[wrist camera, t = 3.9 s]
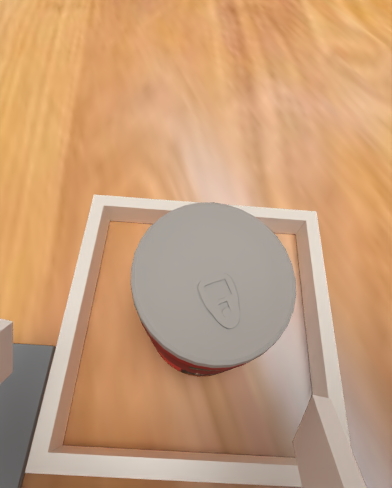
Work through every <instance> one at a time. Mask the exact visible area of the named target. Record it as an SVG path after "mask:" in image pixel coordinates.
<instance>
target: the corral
mask: <svg viewBox="0 0 392 488" xmlns="http://www.w3.org/2000/svg"><path fill="white" fill-rule="evenodd" d="M195 203H198V202H185V201H172V200H159V199H145V198H132V197H119V196H106V195H94V196H93V201H92V205H91V209H90V213H89V217H88V221H87V225H86V229H85V233H84V237H83V241H82V245H81V249H80V253H79V257H78V261H77V265H76V269H75V273H74V277H73V281H72V285H71V289H70V293H69V297H68V301H67V305H66V309H65V313H64V317H63V321H62V325H61V329H60V334H59V338H58V342H57V346H56V350H55V354H54V358H53V362H52V366H51V370H50V374H49V378H48V382H47V386H46V390H45V394H44V398H43V402H42V406H41V410H40V414H39V418H38V422H37V426H36V430H35V434H34V438H33V442H32V446H31V450H30V454H29V458H28V462H27V467H26V471H25V473H36V474H55V475H75V476H94V477H114V478H133V479H153V480H172V481H191V482H211V483H230V484H250V485H269V486H289V487H302V484H301V479H300V474H299V470H298V465H297V460H296V458H291V457H273V456H254V455H236V454H217V453H199V452H180V451H162V450H143V449H125V448H106V447H88V446H69V445H63V442H64V437H65V432H66V427H67V423H68V418H69V413H70V408H71V403H72V399H73V394H74V389H75V384H76V380H77V375H78V370H79V365H80V361H81V356H82V351H83V346H84V342H85V337H86V332H87V327H88V322H89V318H90V313H91V308H92V303H93V299H94V294H95V289H96V284H97V280H98V275H99V270H100V265H101V260H102V256H103V251H104V246H105V241H106V237H107V232H108V227H109V222H110V221H120V222H133V223H147V224H154V223H155V222H156V221H157V220H158V219H159V218H160V217H162V216H164V215H165V214H167V213H169V212H170V211H172V210H174V209H177V208H179V207H182V206H185V205H189V204H195ZM230 206H233V207H236V208H239V209H242V210H243V211H245V212H247V213H249V214H251V215H253V216H255V217H256V218H257V219H259V220H260V221H261V222H263V223H264V224H265V225H266V226H267V227H268V228H269V229H270V230H271V231H272V232H273V233H283V234H296V243H297V252H298V261H299V271H300V280H301V289H302V299H303V308H304V318H305V327H306V336H307V346H308V355H309V364H310V374H311V383H312V392H313V395H317V396H321V397H325V398H329V399H331V401H332V403H333V406H334V408H335V411H336V413H337V416H338V418H339V421H340V423H341V426H342V428H343V431H344V433H345V436H346V438H347V440H348V443H349V445H350V448H351V443H350V436H349V430H348V423H347V416H346V409H345V402H344V396H343V389H342V382H341V375H340V369H339V362H338V355H337V348H336V341H335V335H334V328H333V321H332V314H331V307H330V301H329V294H328V287H327V280H326V274H325V267H324V260H323V253H322V246H321V240H320V233H319V226H318V219H317V212H316V211H304V210H291V209H278V208H265V207H251V206H238V205H230Z"/></svg>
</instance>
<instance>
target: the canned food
mask: <svg viewBox="0 0 392 488" xmlns="http://www.w3.org/2000/svg"><path fill="white" fill-rule="evenodd" d="M131 289H132V295H133V300H134V305H135V307H136V310H137V312H138V315H139V317H140V320H141V322H142V325H143V327H144V328H145V330H146V332H147V334H148V335H149V337H150V339H151V340H152V342H153V344H154V346H155V347H156V349H157V350H158V352H159V354H160V355H161V357H162V358H163V359H164V360H165V361H166V362H167V363H168V364H169V365H171V366H172V367H174V368H175V369H177V370H178V371H180V372H183V373H185V374H188V375H193V376H211V375H215V374H218V373H221V372H224V371H227V370H230V369H233V368H236V367H239V366H241V365H244V364H246V363H248V362H250V361H251V360H253V359H255V358H257V357H259V356H261V355H262V354H264V353H265V352H266V351H267V350H268V349H269V348H270V347H271V346H272V345H273V344H275V342H276V341H277V340H278V339H279V338H280V336H281V335H282V333H283V332H284V330H285V329H286V327H287V326H288V323H289V321H290V318H291V316H292V313H293V310H294V304H295V298H296V282H295V276H294V271H293V267H292V263H291V261H290V259H289V256H288V254H287V252H286V249H285V248H284V246H283V245H282V243H281V242H280V240H279V239H278V237H277V236H276V235H275V234H274V233H273V232H272V231H271V230H270V229H269V228H268V227H267V226H266V225H265V224H264V223H263V222H261V221H260V220H259V219H257V218H256V217H255V216H253V215H251V214H249V213H247V212H245V211H243V210H242V209H239V208H236V207H233V206H230V205H226V204H220V203H195V204H189V205H185V206H182V207H179V208H177V209H174V210H172V211H170V212H169V213H167V214H165V215H164V216H162V217H160V218H159V219H158V220H157V221H156V222H155V223H154V224H153V225H152V226H151V227H150V228H149V229H148V230H147V232H146V233H145V234H144V236H143V237H142V239H141V240H140V243H139V245H138V247H137V249H136V251H135V254H134V259H133V263H132V267H131Z"/></svg>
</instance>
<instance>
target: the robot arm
mask: <svg viewBox="0 0 392 488" xmlns="http://www.w3.org/2000/svg"><path fill="white" fill-rule="evenodd" d="M12 372H13V321H9V320H4V319H0V384H1V383H2V382H3V381H4V380H5V379H6V378H7V377H8V376H9V375H10V374H11V373H12ZM293 446H294V451H295V456H296V460H297V465H298V470H299V474H300V479H301V484H302V488H367V487H366V485H365V482H364V480H363V477H362V475H361V472H360V470H359V468H358V465H357V463H356V460H355V458H354V455H353V453H352V450H351V448H350V445H349V443H348V440H347V438H346V436H345V433H344V431H343V428H342V426H341V423H340V421H339V418H338V416H337V413H336V411H335V408H334V406H333V403H332V401H331V399H329V398H325V397H321V396H317V395H312V397H311V399H310V401H309V404H308V406H307V409H306V411H305V413H304V416H303V418H302V421H301V423H300V426H299V428H298V430H297V433H296V435H295V438H294V440H293Z"/></svg>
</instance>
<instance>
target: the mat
mask: <svg viewBox="0 0 392 488" xmlns="http://www.w3.org/2000/svg"><path fill="white" fill-rule="evenodd" d="M55 348H56V347H55V346H45V345H29V344H13V372H12V373H11V374H10V375H9V376H8V377H7V378H6V379H5V380H4V381H3V382H2V383H1V384H0V488H21V485H22V481H23V477H24V473H25V469H26V465H27V461H28V457H29V453H30V449H31V445H32V441H33V437H34V433H35V429H36V425H37V420H38V416H39V412H40V408H41V404H42V400H43V396H44V392H45V388H46V384H47V380H48V376H49V372H50V368H51V364H52V360H53V356H54V352H55Z"/></svg>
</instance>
